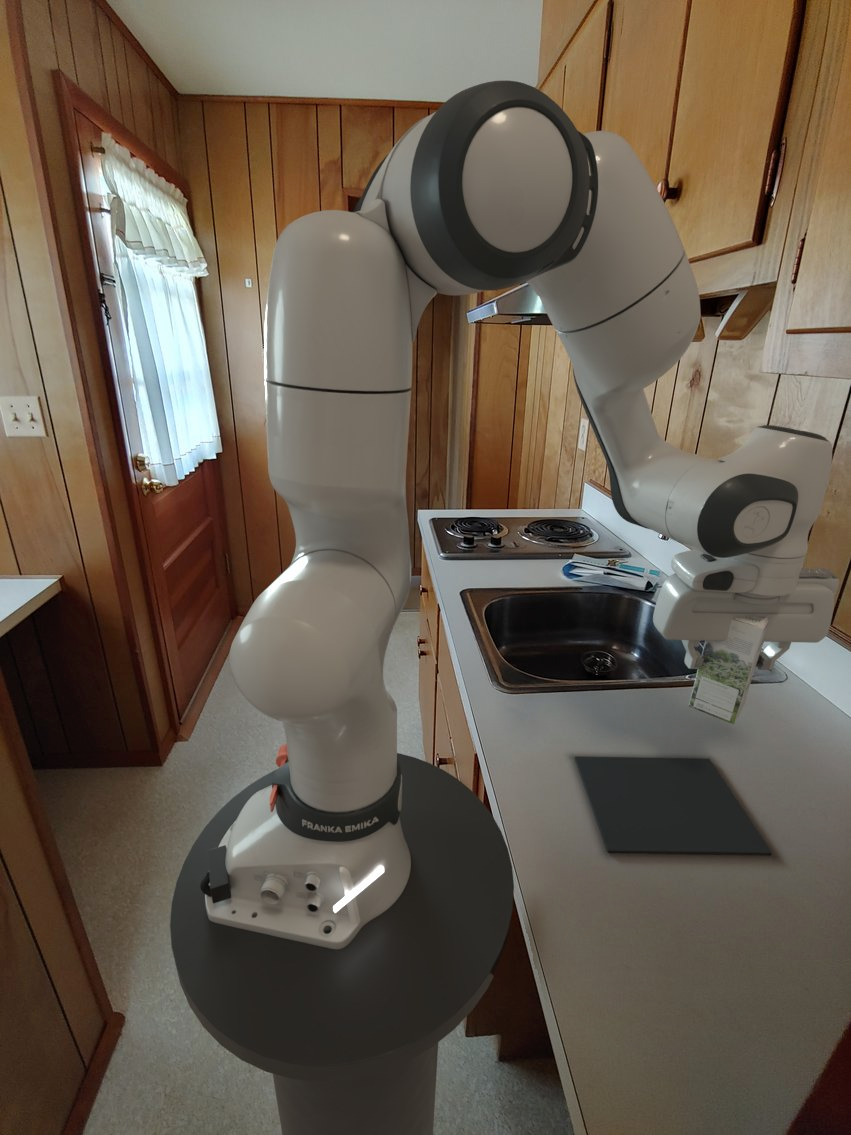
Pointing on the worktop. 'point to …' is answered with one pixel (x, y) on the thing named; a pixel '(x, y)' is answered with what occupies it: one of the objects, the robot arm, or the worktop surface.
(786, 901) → the worktop surface
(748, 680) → the syrup box
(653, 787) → the mat
